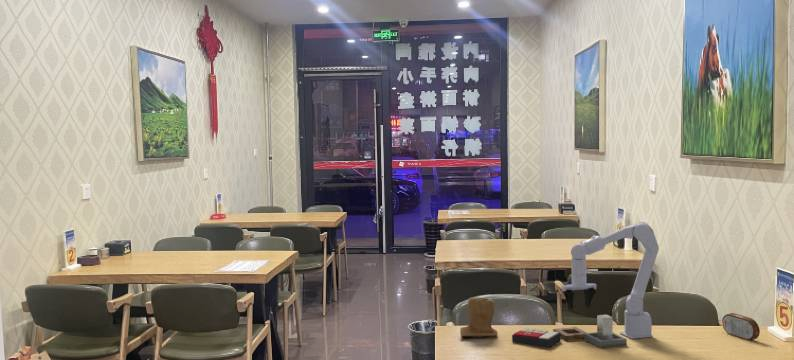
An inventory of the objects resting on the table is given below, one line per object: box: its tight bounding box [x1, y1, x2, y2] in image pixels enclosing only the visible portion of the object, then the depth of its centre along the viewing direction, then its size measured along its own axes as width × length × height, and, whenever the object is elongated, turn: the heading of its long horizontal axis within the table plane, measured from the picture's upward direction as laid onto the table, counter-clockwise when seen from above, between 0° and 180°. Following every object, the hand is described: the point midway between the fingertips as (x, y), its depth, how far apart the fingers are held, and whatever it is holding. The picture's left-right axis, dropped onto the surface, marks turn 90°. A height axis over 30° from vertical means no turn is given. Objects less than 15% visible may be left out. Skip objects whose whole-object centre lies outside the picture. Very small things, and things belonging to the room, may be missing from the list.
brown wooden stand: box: [459, 297, 499, 338], centre depth 248 cm, size 15×12×15 cm
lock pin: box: [596, 314, 614, 340], centre depth 236 cm, size 4×4×9 cm
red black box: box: [511, 327, 561, 349], centre depth 239 cm, size 11×4×15 cm
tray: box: [583, 331, 628, 349], centre depth 236 cm, size 11×11×2 cm
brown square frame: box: [552, 326, 588, 342], centre depth 245 cm, size 10×10×2 cm
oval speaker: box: [721, 312, 761, 341], centre depth 241 cm, size 15×3×8 cm, turn 20°
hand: (579, 307), depth 252 cm, fingers open, 7 cm apart
